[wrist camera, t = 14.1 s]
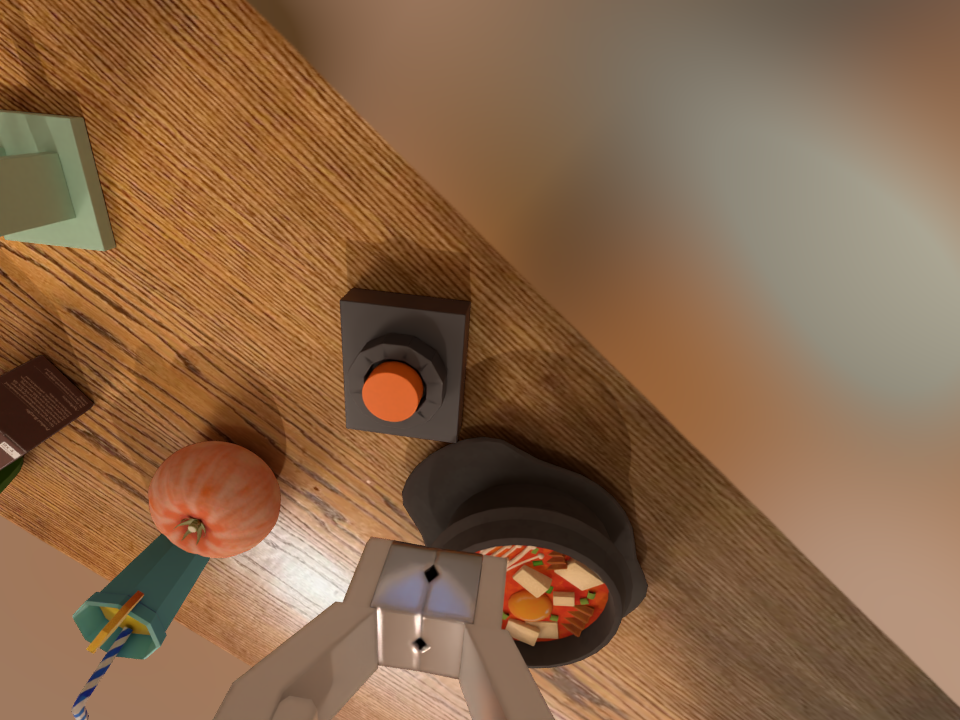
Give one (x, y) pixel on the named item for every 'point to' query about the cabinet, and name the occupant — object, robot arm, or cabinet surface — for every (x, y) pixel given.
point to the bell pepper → (10, 473)
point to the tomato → (214, 499)
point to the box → (35, 407)
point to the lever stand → (50, 183)
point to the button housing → (406, 358)
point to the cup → (136, 608)
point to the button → (393, 391)
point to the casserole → (533, 543)
